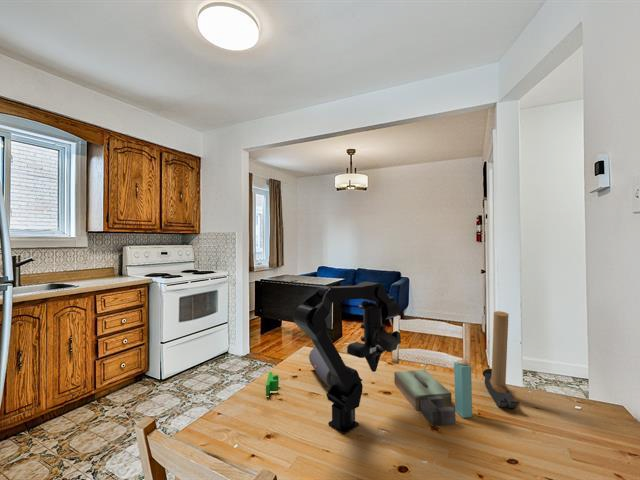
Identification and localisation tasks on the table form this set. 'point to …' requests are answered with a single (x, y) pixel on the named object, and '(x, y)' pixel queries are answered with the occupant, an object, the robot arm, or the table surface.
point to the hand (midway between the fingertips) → (373, 371)
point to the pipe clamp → (272, 383)
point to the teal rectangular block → (463, 388)
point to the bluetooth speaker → (320, 366)
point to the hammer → (499, 363)
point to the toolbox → (427, 396)
